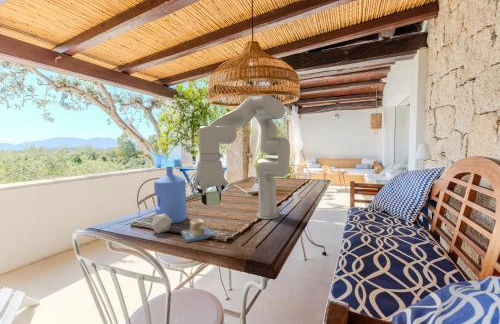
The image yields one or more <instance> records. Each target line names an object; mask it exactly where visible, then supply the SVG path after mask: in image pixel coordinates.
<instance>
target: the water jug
mask: <svg viewBox="0 0 500 324" xmlns="http://www.w3.org/2000/svg"><path fill="white" fill-rule="evenodd" d="M165 168H166V174H165V175H164V176H162V177H159V178H158V179H156V180H154V185H153V189H154V195H155V196H156V199H157V200H156V202H157V205H156V206H155V215H159V214H164V213H166V215H167V216H168V217H169V218H170V219H171V220H172V223H171V225H172V224H173V225H174V224H179V223H181V222H184V221H185V220H186V219H187V218H188V212H187V193H186V192H187V191H186V190H187V189H186V187H187V186H186V185H187V183H186V179H185V178H182V177H180V176H177V175H175V174H174V172H173V171H174V170H173V166H166V167H165Z"/></svg>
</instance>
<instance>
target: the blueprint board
mask: <svg viewBox="0 0 500 324" xmlns="http://www.w3.org/2000/svg"><path fill="white" fill-rule="evenodd" d="M180 235H181V236H182V238H183V239H184V241H185V242H186V243H191V242H195V241H196V242H197V241H200V240H201V241H202V240H205V239H209V237H210V236H213V235H214V236H215V234H214V232H213V231H212V230H211V229H210V228H209V227H208V226H207V225H204V233H203V234H198V235H192V233H191V232H190V228H189V229H188V228H187V229H182V230H180Z"/></svg>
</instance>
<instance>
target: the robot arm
mask: <svg viewBox="0 0 500 324" xmlns="http://www.w3.org/2000/svg"><path fill="white" fill-rule="evenodd" d="M285 114H286V108H285V106H284V104H283V102H282V101H280V100H279V99H277V98H275V97H273V96H271V95H269V94H268V95H267V94H261V95H260V94H259V95H252V96H249V97H247V98H246V99H244V100H243V102H241V103H240V104H239V105H237V107H236V108H235V109H232V111H229V112H228V113H225V114H223V115H221V116H219V117H218V118H216V119H214V120H213V121H212V122H211V123H210V124H209V125H202V126H200V127H199V129H198V135H199V137H198V139H199V141H198V143H199V160H200V161H198V162H197V166H196V167H197V168H196V180H195V181H194V182H193V184H192V186H191V187H192V188H193V189H194V190H195V191H197V192H198V193H199V194H200V197H201V200H200V201H201V204H203V205H204V206H206V204H207V202H206V195H205V192H206V191H207V188H211V187H212V188H213V187H215V190H216V191H218V192H219V199H220V201H222V193H223V191H224V189H225V188H226V187H227V186H228V185H229V181H227V179H226V178H225V176H224V167H223V164H222V160H221V158H223V156H224V154H222V153H220V145H230V144H232V143H234V142H235V141H236V139H237V137H238V135H237V134H238V133H237V130H236V129H238V128H242V127H245V126H247V125H248V124H249V122H251V121H252V119H253V118H255V119H256V120H257V122H258V124H259V126H260V131H261V132H260V148H259V149H260V152H261V154H262V155H265V156H276V158H275V157H262V158H260V159H258V160H257V162H256V166H255V167H256V173H257V182H258V183H257V184H258V185H257V186H258V211H257V212H256V213H255V217H257V218H259V219H262V220H274V219H277V218H279V217H280V213H279V212H281V211H284V210H285V209H284V207H283V206H282V207H281V206H280V207H279V206H277V181H276V180H275V177H277V178H284V177H286V176H287V175H288V173H289V170H290V160H291V159H290V157H291V156H290V155H291V145H290V141H289V140H288V138H286V137H281V136H280V137H278V128H277V125H276V123H275V122H274V120H280V119H282V118H283V117H284V116H285Z"/></svg>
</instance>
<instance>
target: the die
mask: <svg viewBox="0 0 500 324" xmlns="http://www.w3.org/2000/svg"><path fill="white" fill-rule="evenodd" d="M171 223H172V220H171V219H170V218H169V217H168V216H167V215H166V213H164V214H159V215H156V214H155V215H154V216H153V219H152V222H151V223H150V227H151V229H153V230H154V231H155V232H156V234H162V233H165V232H169V231H170V229H171V226H172V224H171Z"/></svg>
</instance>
